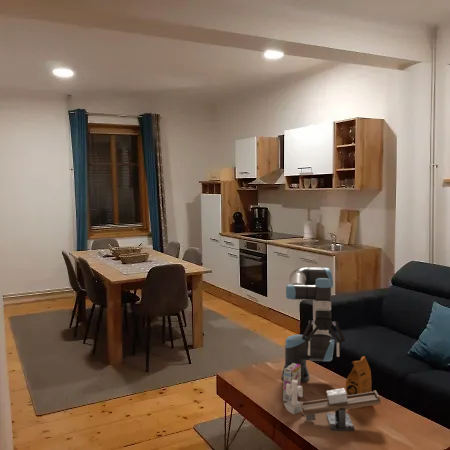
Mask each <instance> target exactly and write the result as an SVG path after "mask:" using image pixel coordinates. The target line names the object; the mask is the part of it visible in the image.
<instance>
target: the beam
mask: <svg viewBox="0 0 450 450" xmlns="http://www.w3.org/2000/svg"><path fill="white" fill-rule="evenodd" d="M347 400H348V403H345V404H338V405H331V406H330V405H329V402H328V398H322V399H315V400H308V401H302V400H301V401H300V402H301V407H302V411H301V412H302V415H303V416H304V417H305V419H306V422H309V421H311V422H312V421H316V419H317V418H316V414H324V413H331V412H335V411H338V410H339V408H345V410H349V409H351V410H352V409H359V408H358V407H362V408H363V407H364V408H365V407H370V406H377V405H381V404H382V402H381V398H380V395H379V393H378V392H377V390H373V391H371V392H368V393H361V394H354V395H348V396H347Z"/></svg>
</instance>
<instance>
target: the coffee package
mask: <svg viewBox="0 0 450 450" xmlns="http://www.w3.org/2000/svg"><path fill="white" fill-rule="evenodd" d="M351 364H352V365H353V367H352V369H351V372H349V374H348V375H347V378H346V380H345V391H346V394H347V396H348V395H354V394H361V393H368V392H372V384H373V383H372V371H371V368H370V365H369V363H368V361H367V358H366V356H365V355H364V356H361V358H360V360H355V361H354V360H353V361H352V362H351ZM362 408H363V407H358V408H357V409H362Z"/></svg>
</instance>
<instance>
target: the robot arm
mask: <svg viewBox="0 0 450 450" xmlns="http://www.w3.org/2000/svg"><path fill="white" fill-rule="evenodd" d="M333 280H334V279H333V273H332V270H331V268H329V267H323V266H321V267H319V266H317V267H316V266H315V267H314V266H312V267H311V266H303V267H299V268H297V269H294V270H293V271H292V272H291V273H290V275H289V278H288V281H289V284H287V285H286V287H285V298H286V299H287V300H294V301H295V300H302V301H303V300H304V301H312V319H313V320H312V319H309V320H308V325H307V327H306V329H305V331H304V333H303V334H292V335H289V336H287V338H286V337H285V338H286V339H285V342H284V343H285V344H284V349H285V350H284V352H285V353H284V354H285V355H284V357H285V359H284V366H283V368H282V371H281V378H282V379H283V374H284V369H285V368H286V367H288V366H289V365H291V364H292V363H296V364H300V365H301V383H305V382H308V381H309V380H310V373H309V369H308V366H307V361H314V362H323V363H324V362H331V361H332V360H333V355H334V349H335V340H336V341H337V342H336V357H337V358H339V357H340V350H342V344H343V343H344V342H345V341H346V338H345V336H344V335H343V331H342V330H341V328H340V326H339V322H338V320H336V321H332V312H331V311H332V288H334V281H333ZM332 325H333V327H334V328H335V330H336V331H337V333H338V334H337V333H336V332H335V330H334V329H333V328H332ZM311 327H312V331H311V332H310V333H309V331H310V329H311ZM329 332H330V333H329ZM308 333H309V335H308ZM307 335H308V336H307ZM332 336H333V337H334V338H335V340H334V339H332Z"/></svg>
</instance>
